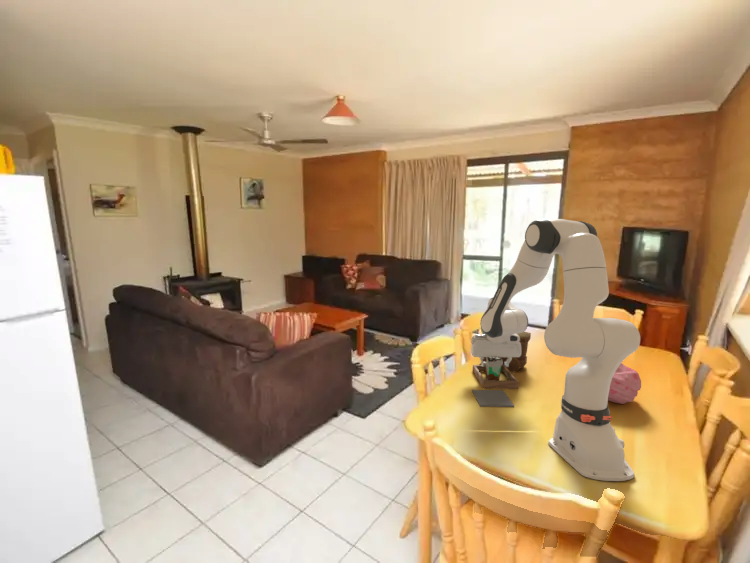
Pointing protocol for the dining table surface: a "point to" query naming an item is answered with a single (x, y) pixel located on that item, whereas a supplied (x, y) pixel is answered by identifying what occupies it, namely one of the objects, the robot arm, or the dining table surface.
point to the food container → (493, 368)
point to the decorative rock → (624, 385)
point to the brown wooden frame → (488, 384)
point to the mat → (492, 398)
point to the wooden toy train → (522, 360)
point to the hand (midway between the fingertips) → (494, 366)
